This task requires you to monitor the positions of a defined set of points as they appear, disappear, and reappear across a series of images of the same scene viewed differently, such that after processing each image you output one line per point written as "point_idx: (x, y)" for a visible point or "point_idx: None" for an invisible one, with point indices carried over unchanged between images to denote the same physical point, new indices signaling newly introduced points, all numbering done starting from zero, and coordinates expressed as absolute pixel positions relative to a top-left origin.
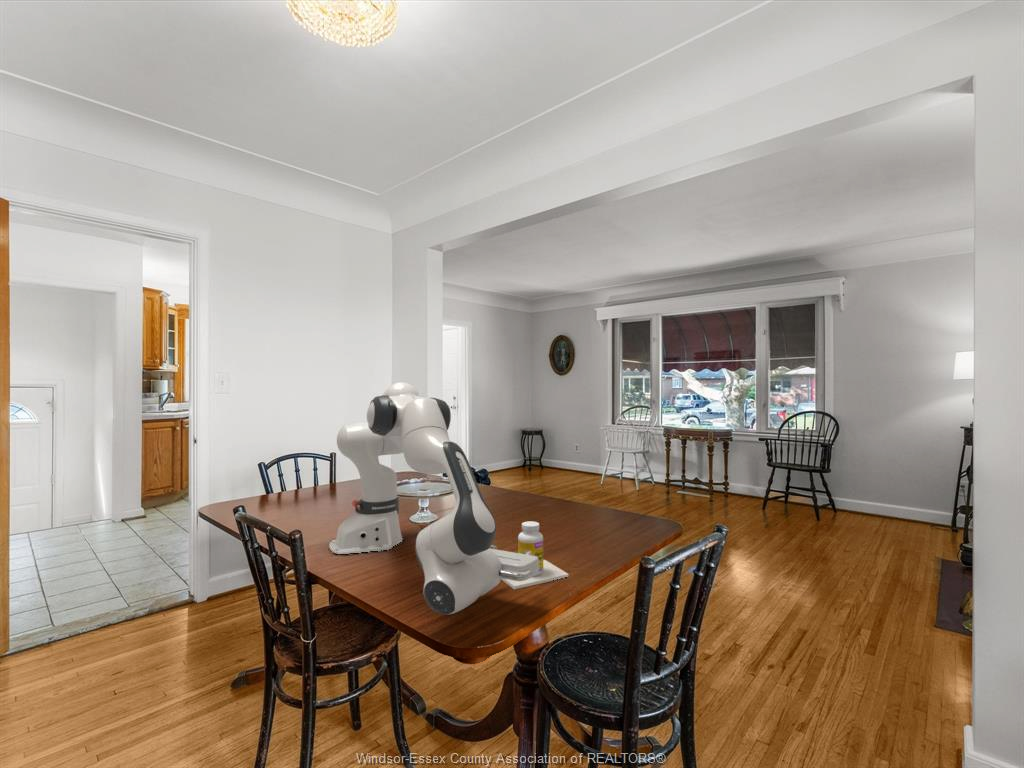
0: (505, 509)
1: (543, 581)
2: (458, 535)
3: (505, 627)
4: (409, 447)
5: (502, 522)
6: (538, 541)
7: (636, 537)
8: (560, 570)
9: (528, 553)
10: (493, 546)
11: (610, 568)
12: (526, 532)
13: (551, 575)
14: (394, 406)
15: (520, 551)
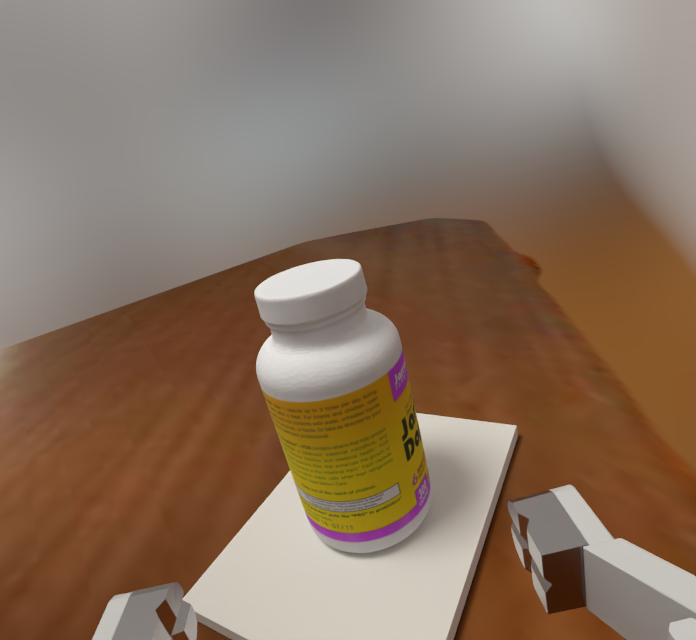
0: (107, 315)
1: (484, 533)
2: None
3: None
4: None
5: (113, 344)
6: (397, 354)
7: (449, 251)
8: (463, 424)
9: (629, 542)
10: (137, 622)
11: (557, 333)
12: (313, 334)
13: (473, 473)
14: None
15: (312, 454)
